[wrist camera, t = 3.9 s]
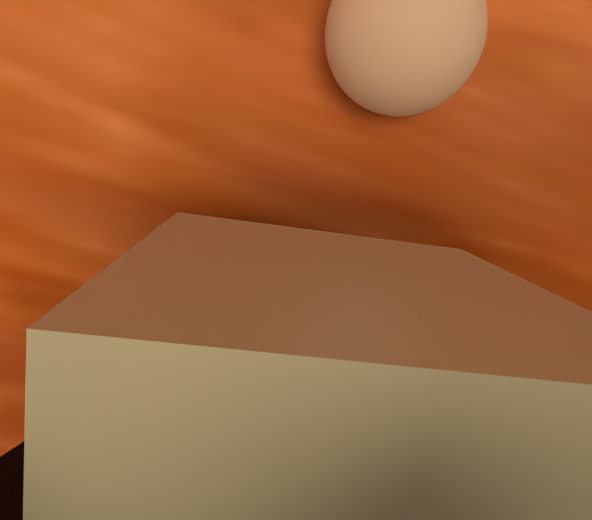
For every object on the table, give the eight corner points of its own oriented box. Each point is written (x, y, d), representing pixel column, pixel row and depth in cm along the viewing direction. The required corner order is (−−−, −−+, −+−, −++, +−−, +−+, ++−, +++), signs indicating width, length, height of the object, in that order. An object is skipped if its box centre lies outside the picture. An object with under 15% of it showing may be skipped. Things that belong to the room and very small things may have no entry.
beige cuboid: (398, 528, 11) (558, 956, 5) (150, 513, 11) (13, 982, 5) (460, 249, 10) (785, 404, 4) (177, 212, 9) (26, 329, 3)
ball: (463, -18, 15) (543, -73, 11) (433, 125, 16) (495, 126, 12) (326, -42, 14) (354, -110, 10) (307, 107, 16) (324, 103, 11)
